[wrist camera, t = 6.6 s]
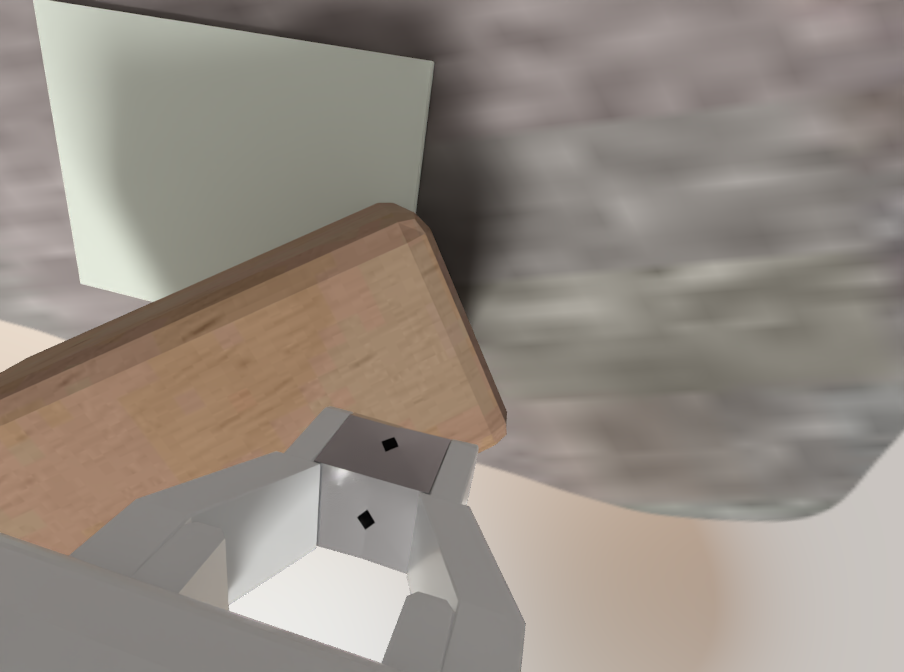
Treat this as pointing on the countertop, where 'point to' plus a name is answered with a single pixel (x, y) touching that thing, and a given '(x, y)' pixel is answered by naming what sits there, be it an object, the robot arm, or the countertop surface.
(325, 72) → the mat
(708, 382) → the countertop surface
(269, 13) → the countertop surface
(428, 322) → the wooden block
